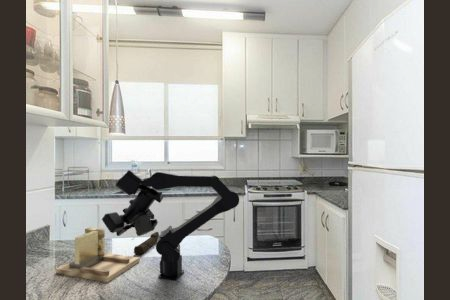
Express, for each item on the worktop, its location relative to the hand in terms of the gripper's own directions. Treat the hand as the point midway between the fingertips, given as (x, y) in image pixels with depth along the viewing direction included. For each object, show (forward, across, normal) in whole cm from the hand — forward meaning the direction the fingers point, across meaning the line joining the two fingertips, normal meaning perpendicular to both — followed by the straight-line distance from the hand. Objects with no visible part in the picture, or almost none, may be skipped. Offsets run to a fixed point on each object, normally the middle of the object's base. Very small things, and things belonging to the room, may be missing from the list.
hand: (117, 235), depth 85 cm
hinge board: (+15, +1, -2) cm, 15 cm away
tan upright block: (+17, 0, +2) cm, 17 cm away
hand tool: (+13, +23, -3) cm, 27 cm away
